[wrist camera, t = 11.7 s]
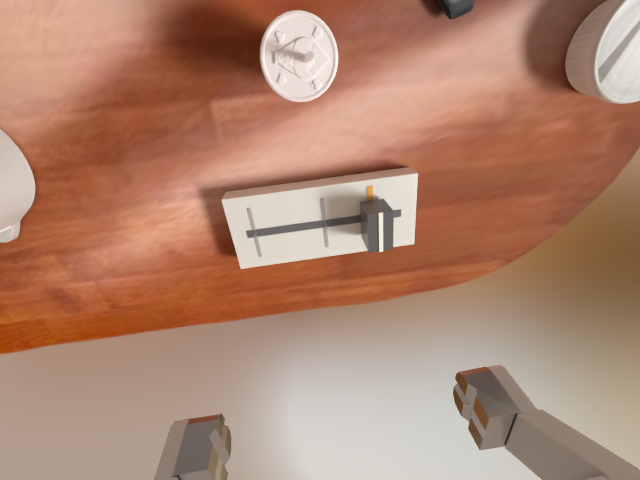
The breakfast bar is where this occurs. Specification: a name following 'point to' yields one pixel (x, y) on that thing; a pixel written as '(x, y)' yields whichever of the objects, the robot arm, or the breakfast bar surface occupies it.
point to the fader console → (316, 216)
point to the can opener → (456, 7)
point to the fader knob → (377, 225)
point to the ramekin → (607, 53)
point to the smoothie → (298, 56)
